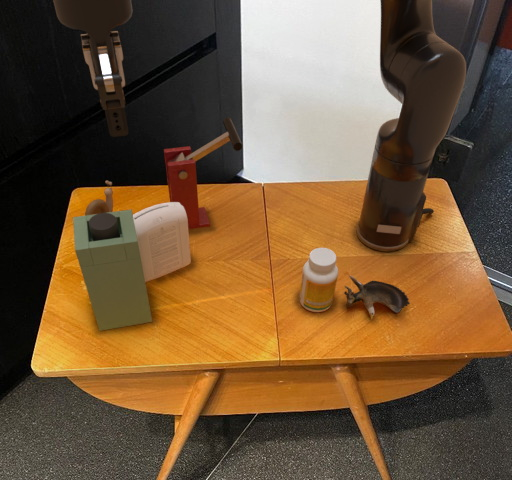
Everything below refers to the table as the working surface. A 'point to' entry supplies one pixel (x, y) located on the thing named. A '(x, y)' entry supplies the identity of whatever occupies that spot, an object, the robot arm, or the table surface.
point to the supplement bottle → (319, 280)
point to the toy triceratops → (377, 295)
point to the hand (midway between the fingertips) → (119, 132)
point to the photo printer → (162, 239)
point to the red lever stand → (185, 186)
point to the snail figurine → (101, 203)
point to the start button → (104, 227)
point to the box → (113, 273)
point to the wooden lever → (214, 143)
